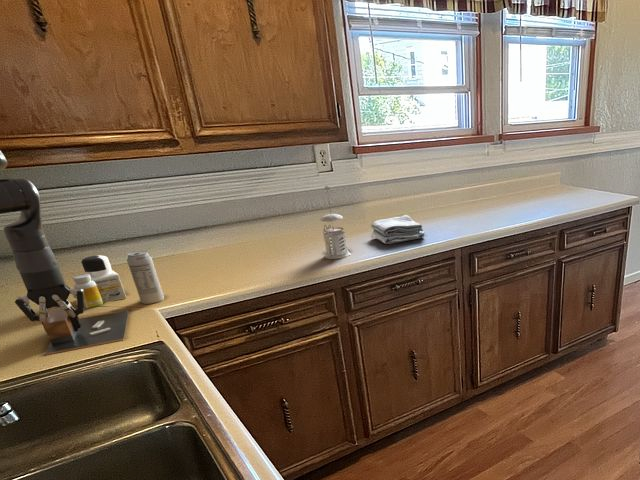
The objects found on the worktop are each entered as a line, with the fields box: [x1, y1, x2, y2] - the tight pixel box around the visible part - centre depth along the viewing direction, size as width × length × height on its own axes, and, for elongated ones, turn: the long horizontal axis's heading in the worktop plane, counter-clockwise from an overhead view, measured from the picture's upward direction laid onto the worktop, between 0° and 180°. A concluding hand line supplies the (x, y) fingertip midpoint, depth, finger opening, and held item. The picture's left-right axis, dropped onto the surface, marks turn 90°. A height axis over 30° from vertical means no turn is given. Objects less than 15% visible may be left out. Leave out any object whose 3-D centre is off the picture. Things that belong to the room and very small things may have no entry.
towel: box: [370, 214, 425, 245], centre depth 213 cm, size 15×18×8 cm
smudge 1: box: [92, 321, 104, 329], centre depth 136 cm, size 4×1×1 cm, turn 14°
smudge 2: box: [90, 328, 111, 336], centre depth 132 cm, size 4×1×1 cm, turn 139°
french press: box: [320, 185, 351, 260], centre depth 188 cm, size 10×12×25 cm
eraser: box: [42, 307, 77, 344], centre depth 130 cm, size 4×11×6 cm, turn 29°
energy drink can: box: [126, 250, 165, 305], centre depth 150 cm, size 6×6×15 cm
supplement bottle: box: [72, 273, 104, 310], centre depth 149 cm, size 5×5×10 cm
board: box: [43, 309, 129, 357], centre depth 134 cm, size 16×24×1 cm, turn 29°
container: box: [80, 254, 127, 303], centre depth 154 cm, size 8×8×13 cm
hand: (65, 331), depth 131 cm, fingers closed on eraser, 4 cm apart
